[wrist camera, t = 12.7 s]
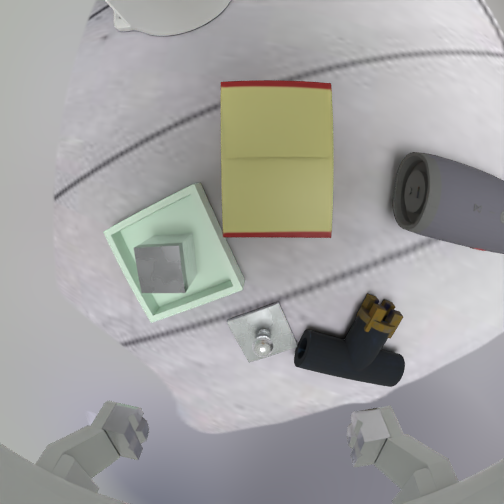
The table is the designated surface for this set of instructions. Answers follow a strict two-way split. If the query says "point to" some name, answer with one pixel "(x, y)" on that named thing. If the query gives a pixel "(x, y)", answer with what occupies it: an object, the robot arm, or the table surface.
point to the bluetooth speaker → (450, 202)
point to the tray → (205, 245)
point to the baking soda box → (276, 159)
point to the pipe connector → (356, 347)
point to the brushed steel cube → (166, 263)
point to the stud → (262, 332)
